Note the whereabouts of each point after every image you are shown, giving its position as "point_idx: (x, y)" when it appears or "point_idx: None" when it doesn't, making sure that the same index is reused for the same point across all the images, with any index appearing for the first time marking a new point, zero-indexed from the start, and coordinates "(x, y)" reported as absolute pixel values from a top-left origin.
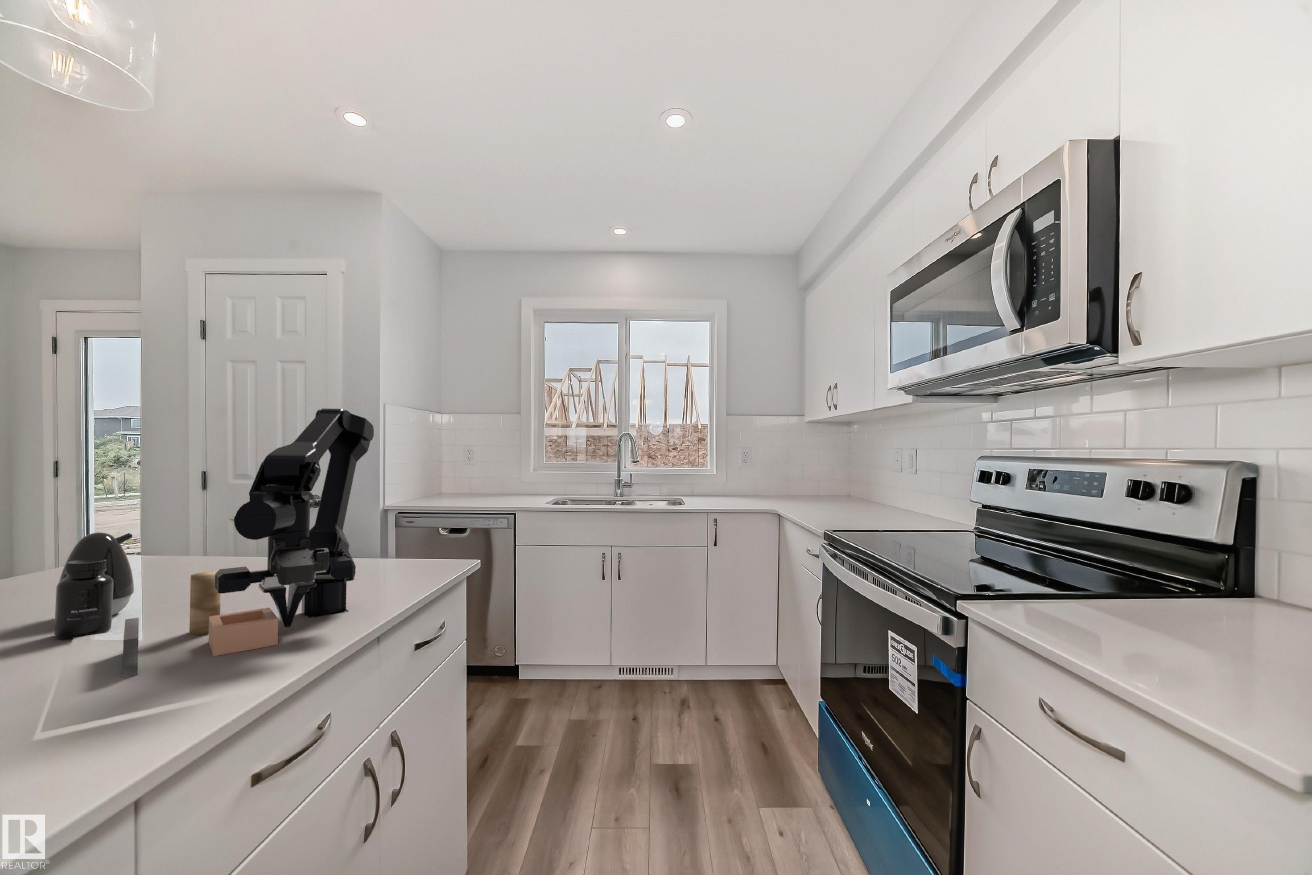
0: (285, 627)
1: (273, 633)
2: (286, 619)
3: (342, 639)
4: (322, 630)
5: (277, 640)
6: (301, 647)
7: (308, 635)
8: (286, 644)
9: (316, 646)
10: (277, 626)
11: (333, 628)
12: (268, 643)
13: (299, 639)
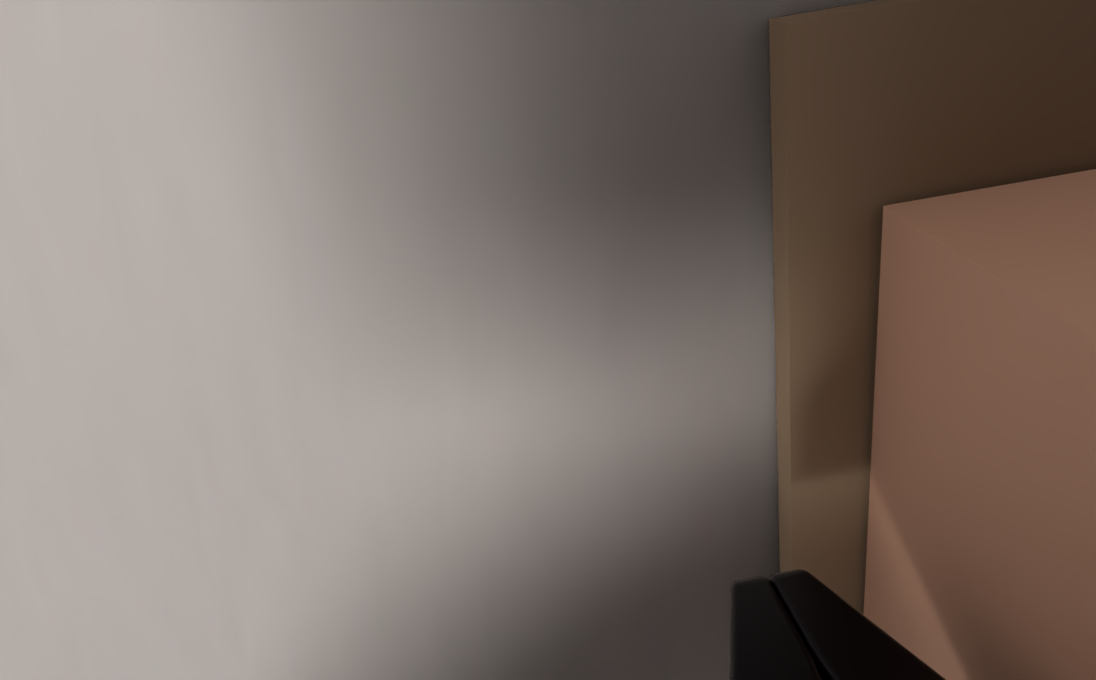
0: (790, 572)
1: (1048, 249)
2: (836, 649)
3: (42, 185)
4: (355, 639)
5: (913, 224)
6: (586, 79)
7: (495, 535)
8: (740, 313)
9: (387, 12)
10: (1065, 312)
11: (243, 661)
12: (1016, 195)
13: (591, 437)
